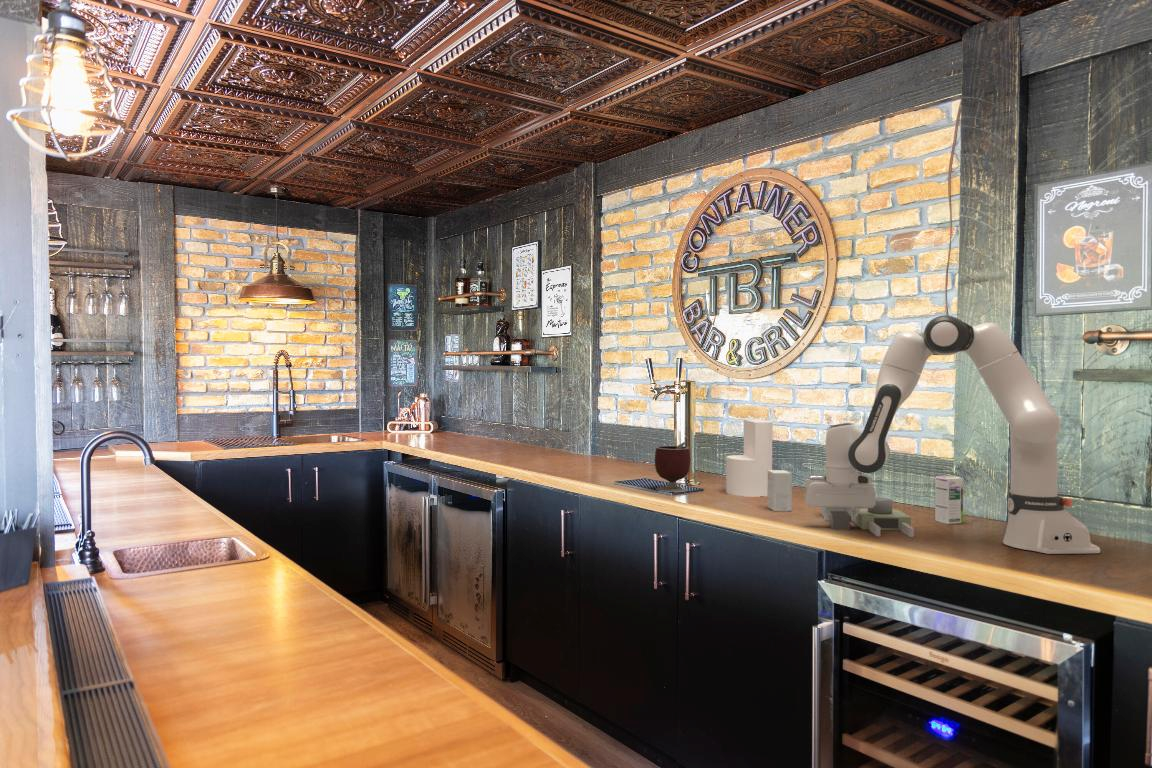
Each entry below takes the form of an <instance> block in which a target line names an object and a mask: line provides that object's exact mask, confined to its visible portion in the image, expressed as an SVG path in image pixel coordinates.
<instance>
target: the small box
mask: <svg viewBox="0 0 1152 768" xmlns="http://www.w3.org/2000/svg"><path fill="white" fill-rule="evenodd" d="M766 497H767V498H766V499H767V502H766V504H767V505H766V507H767V508H768V509H770V510H772V511H774V512H792V511H793V473H792V472H790V471H787V470H785V469H781V470H780V469H776V470H775V469H772V470H768V488H767V496H766Z"/></svg>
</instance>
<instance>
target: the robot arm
mask: <svg viewBox="0 0 1152 768" xmlns="http://www.w3.org/2000/svg"><path fill="white" fill-rule="evenodd" d="M959 352H962V353H964V354H966V355H967V356H969V358H970V359H971V361H972V362H973V364H974V365H975V367H976V369H977V371H978V373H979V374H980V376H981V378H982V380H983V381H984V383H985V385H986V386H987V389H988V390H989V392H990V394H991V395H992V397H993V398H994V400H995V403H996V404H997V405H998V407H999V410H1000V411H1001V413H1002V414H1003V416H1004V418H1005V420H1006V421H1007V423H1008V424H1009V427H1010V429H1009V431H1010V436H1009V437H1010V444H1009V445H1010V446H1009V447H1010V477H1009V478H1010V483H1009V484H1010V485H1009V486H1010V488H1009V492H1008V495H1007V512H1008V519H1007V525H1006V530H1005V533H1004V536H1003V540H1002V544H1004V545H1006V546H1009V547H1011V548H1016V549H1020V550H1026V551H1031V552H1032V551H1033V552H1038V553H1043V554H1047V555H1048V554H1049V555H1052V554H1053V555H1058V554H1059V555H1061V554H1062V555H1065V554H1067V555H1068V554H1070V555H1071V554H1100V553H1101V551H1102V550H1101V548H1100V547H1099V546H1098V545H1096V544H1095V543H1094V544H1093V543H1092V542H1091V536H1090V532H1089V529H1088V527H1087V526H1086V525H1085V524H1084V523H1082V522H1081V521H1079V520H1078V519H1077V518H1076V517H1074V516H1073V515H1071V514H1070V513H1069V512H1068V511H1066V510H1065V507H1067V508H1070V507H1072V506H1073V505H1074V503H1073V500H1072V499H1069V498H1066V497H1064V498H1063V497H1061V496H1060V495H1058V487H1059V486H1058V482H1059V481H1058V479H1059V477H1058V475H1059V473H1058V472H1059V471H1058V470H1059V465H1058V444H1057V443H1058V441H1057V439H1058V438H1057V437H1058V435H1059V433H1060V431H1061V420H1060V417H1059V415H1058V414H1057V412H1056V411H1055V409H1054V407H1053V406H1052V404H1051V403H1050V401H1049V399H1048V398H1047V395H1046V394H1045V393H1044V391H1043V390H1042V388H1041V386H1040V385H1039V383H1038V382H1037V380H1036V378H1035V376H1034V375H1033V374H1032V372H1031V370H1030V368H1029V367H1028V365H1027V364H1026V362H1025V360H1024V359H1023V357H1022V355H1021V353H1020V351H1018V348H1017V347H1016V344H1014V342H1013V341H1012V340H1011V339H1010V337H1009V336H1008V334H1007V333H1006V332H1005V330H1003V329H1002V328H1001V326H999V324H997V323H994V322H982V323H979V324H977V325H975V326H972V325H970V324H968V323H966V322H965V321H962V320H961V319H960V318H957V317H955V316H952V315H946V314H942V315H939V316H936V317H934V318H932V319H931V320H930V321H929V322H928V323H927V324H926V326H925V328H924V330H923V331H922V332H917V331H912V330H908V331H907V330H904V331H900V332H898V333H897V334H895V336H894V337H893V339H892V340H891V342H890V344H889V346H888V348H887V351H886V352H885V354H884V357H883V360H882V363H881V365H880V369H879V372H878V375H877V380H876V388H875V393H874V401H873V404H872V408H871V410H870V412H869V415H868V418H867V420H866V423H865V426H864V429H861V428H860V427H857V426H856V425H855V424H854V423H851V422H846V423H845V422H843V423H837V424H833V425H831V426H830V427H829V428H827V431H826V435H825V456H826V457H825V458H826V461H825V464H824V475H810V476H808V477H807V478H806V479H805V480H804V488H805V490H806V491H805V496H804V497H805V498H804V500H805V501H804V502H805V504H806V506H808V507H813V508H814V507H817V508H819V509H820V511H821V514H822V513H823V515H824V517H823V522H828V523H830V516H829V515H826V513H825V511H824V510H826V507H848V508H852V509H854V510H855V512H854V514H853V515H852V516H850V523H854V522H856V517H857V515H858V514H859V512H860V509H868V508H873V507H874V506H875V505H876V499H875V497H876V491H875V488H874V486H873V485H872V482H873V478H872V477H871V476H869V475H867V474H872V473H876V472H878V471H879V470H880V469H882V467H883V466H884V464H885V462H887V460H888V458H889V457H890V455H891V454H890V453H891V451H890V445H889V444H888V442H887V441H886V438H887V436H888V433H889V430H890V428H891V426H892V422H893V420H894V417H895V415H896V413H897V411H898V410H899V408H900V407H901V406H902V404H904V403H905V401H907V399H908V398H910V396H911V395H912V394H913V392H914V390H915V389H916V387H917V385H918V382H919V380H920V378H921V374H922V372H923V370H924V367H925V364H926V362H927V360H928V359H929V358H930V357H931V356H951V355H955V354H957V353H959Z"/></svg>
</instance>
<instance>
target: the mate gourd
mask: <svg viewBox="0 0 1152 768" xmlns="http://www.w3.org/2000/svg"><path fill="white" fill-rule="evenodd" d="M686 444H687V442H686V441H683V442H682V443H680V444H678V445H660V446H656V448H655V453H654V467H655V472H656V473H657V475H658V476H659V478H661V479H664V480H665V481H668V484H667V486H661V487H656V491H657V490H658V491H657V492H659V491H665V492H683V491H687V490H688V491H689V489H688V488H687V489H682V488H681V486H678V485H677V482H678V481H680V480H683V479H685V478H686V476H687V475H688V474H689V472H690V466H691V453H690V447H689V446H685V445H686Z"/></svg>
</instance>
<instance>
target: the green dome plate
mask: <svg viewBox="0 0 1152 768" xmlns="http://www.w3.org/2000/svg"><path fill="white" fill-rule="evenodd" d="M875 499H876V505H875V506H874V507H873V508H860V512H859V514H858V515H857V517H856V522H853V523H854V524H855V525H856V526H857V527H859V528H860V529H861V530H868V531H869V532H870V533H872V534H873V535H874V536H876V537H881V534H882V533H881V531H900V532H901V533H903V534H904V535H905V536H908V537H909V538H914V536H915V527H913V526H912V525H911V522H912V518H911V516H909V515H908V514H906V513H904V512H902V510H899V509H893V499H891V498H887V497H877V496H875ZM854 512H855V510H854V508H852V515H853V514H854Z"/></svg>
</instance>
